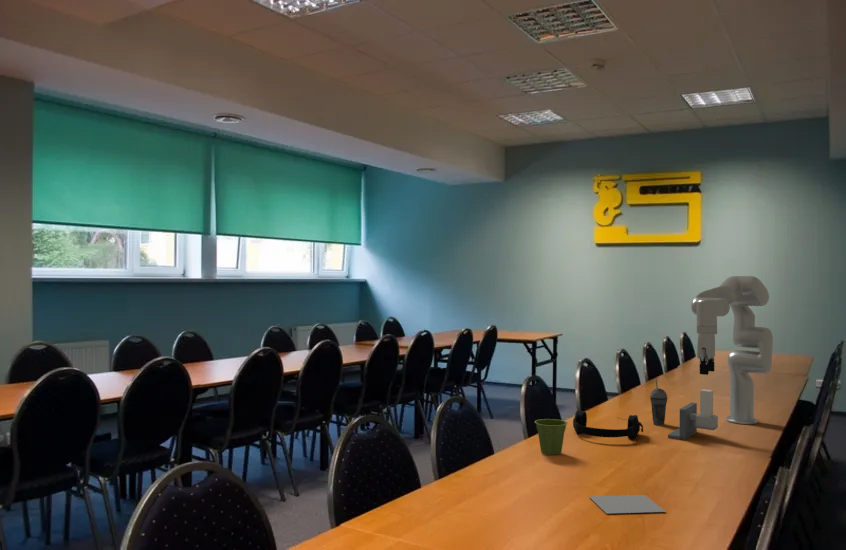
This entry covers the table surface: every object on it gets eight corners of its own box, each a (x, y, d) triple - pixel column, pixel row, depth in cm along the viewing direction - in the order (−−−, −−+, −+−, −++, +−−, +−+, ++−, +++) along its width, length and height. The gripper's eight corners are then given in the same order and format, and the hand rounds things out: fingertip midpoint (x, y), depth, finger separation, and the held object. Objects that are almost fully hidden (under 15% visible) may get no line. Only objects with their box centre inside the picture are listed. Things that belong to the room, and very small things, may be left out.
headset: (630, 428, 282) (630, 407, 282) (655, 443, 256) (655, 420, 256) (565, 429, 280) (565, 408, 280) (584, 444, 254) (584, 421, 254)
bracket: (680, 429, 278) (680, 401, 278) (720, 435, 269) (721, 405, 269) (667, 437, 264) (667, 407, 264) (710, 443, 254) (710, 412, 254)
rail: (702, 424, 266) (702, 389, 266) (713, 425, 264) (713, 390, 264) (700, 425, 263) (700, 390, 263) (710, 427, 261) (710, 391, 261)
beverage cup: (668, 426, 284) (668, 379, 284) (651, 425, 286) (651, 379, 286) (666, 422, 291) (666, 377, 291) (648, 422, 293) (648, 376, 293)
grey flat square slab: (578, 488, 201) (578, 486, 201) (657, 486, 203) (657, 484, 203) (606, 516, 178) (606, 513, 178) (695, 513, 180) (695, 510, 180)
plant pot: (569, 450, 244) (569, 419, 244) (565, 458, 233) (565, 426, 233) (537, 447, 248) (537, 417, 248) (531, 455, 237) (532, 424, 237)
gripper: (702, 327, 273) (702, 369, 273) (691, 331, 259) (691, 374, 259) (721, 328, 269) (722, 370, 269) (711, 332, 255) (711, 376, 255)
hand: (707, 372), depth 264 cm, fingers open, 9 cm apart
